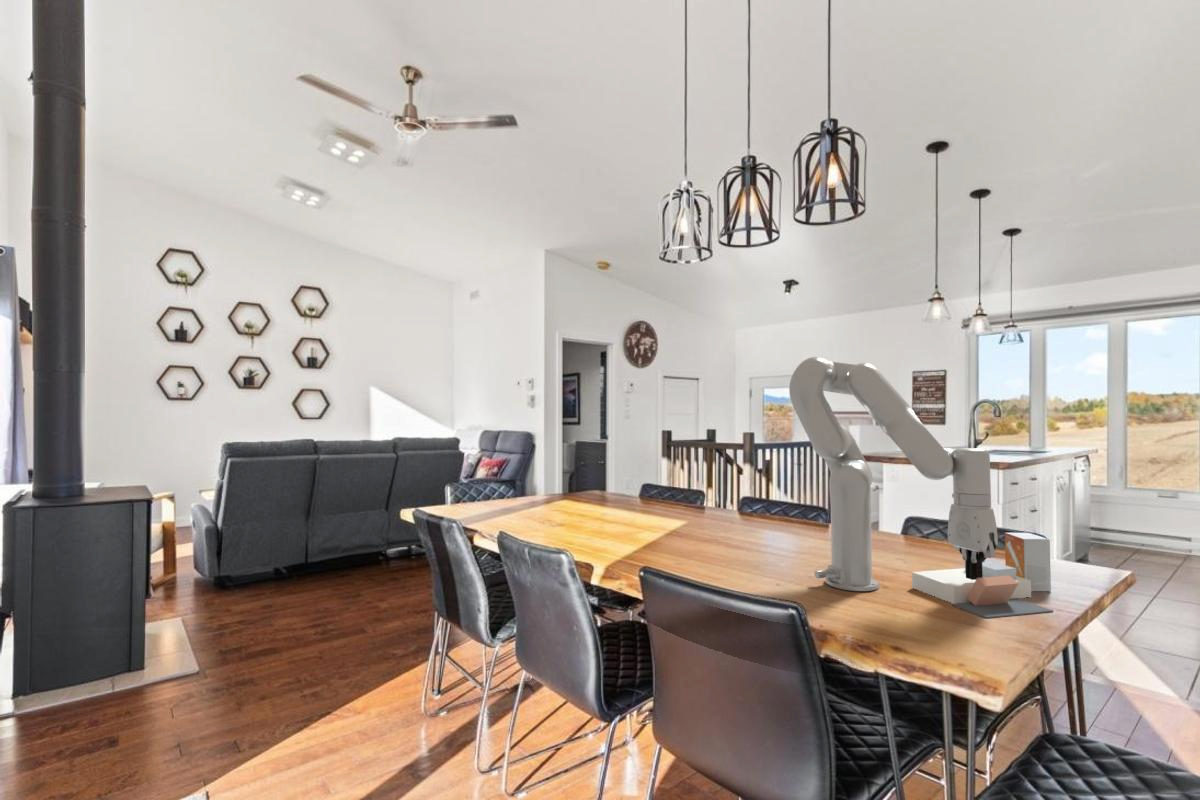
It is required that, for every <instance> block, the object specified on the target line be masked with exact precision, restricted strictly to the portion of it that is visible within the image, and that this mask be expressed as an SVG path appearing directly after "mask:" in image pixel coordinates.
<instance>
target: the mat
mask: <svg viewBox="0 0 1200 800" xmlns="http://www.w3.org/2000/svg"><path fill="white" fill-rule="evenodd" d="M951 605H952V606H953V605H954V606H953V607H955V606H956V607H955V608H958V607H959V608H958V609H960V608H961V610H964V611H966V612H968V613H971V614H974V615H976V616H979V617H981V618H983V619H992V618H993V619H995V618H1004V617H1016V616H1023V615H1024V616H1025V615H1035V614H1045V613H1046V612H1047V613H1054V610H1053V609H1050V608H1047V607H1044V606H1040V605H1038V604H1034V603H1031V602H1028V601H1026V600H1023V599H1021V598H1018V599H1017V598H1013V599H1009V601H1008V603H1001V604H990V605H979V606H975V605H974V604H973V603H972V602H968V603H957V604H952V603H951ZM1047 613H1046V614H1047Z"/></svg>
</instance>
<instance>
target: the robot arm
mask: <svg viewBox="0 0 1200 800" xmlns="http://www.w3.org/2000/svg"><path fill="white" fill-rule="evenodd" d="M788 389H789V392H788V393H789V398H790V401H791V405H792V406H793V408H794V411H795V413H796V415H797V418H798V419H799V421H800V424H801V426H802V427H803V430H804V433H806V436H807V439H808V440H809V442H810V443H811V446H812V448H813V451H814V452H815V453H816V454H817V455H818V457H821V458H822V459H824V462H825V463H826V465H827V467H828V469H829V471H830V476H829V483H828V484H829V485H828V486H829V487H828V488H829V489H828V490H829V499H830V500H829V501H830V503H829V504H830V525H831V526H830V530H831V534H830V537H831V538H830V539H831V544H830V545H831V548H830V549H831V564H830V565H827V568H826V569H824V570H821V569H819V570H815V571H814V577H815V578H816V579H824V578H825V584H827V585H828V586H831V588H832V587H833V588H836V589H840V590H845V591H850V592H870V591H871V592H872V591H875V590H877V589H879V588H880V584H879V582H878V581H877V580H876V579H874V578H873V571H872V570H873V566H872V565H873V563H872V562H873V561H872V559H873V558H872V557H873V556H872V551H873V550H872V512H871V511H872V510H871V509H872V508H871V506H872V505H871V485H872V483H873V473H872V470H871V468H870V466H869V464H868V462H867V460H866V459H865V457H864V455H863V453H862V451H861V449H860V448H859V446H858V444H857V442H856V441H855V438H854V436H853V435H852V433H851V432H850V431H849V429H848V428H847V427H845V426H843V425H841V424H840V422H839V421H838V419H837V417H836V415H835V413H834V412H833V409H832V407H831V406H830V404H829V402H828V400H827V398H826V396H825V394H824V393H825V392H828V393H835V394H836V393H837V394H840V395H841V394H843V395H848V396H854V398H856V400H857V401H858V402H859V403H860V405H862V407H863V408H864V409H865V410H866V412H867V413H868V414H869V415H870V416H871V418H872V419H873V420H874V422H876V424H878V426H879V428H881V430H882V431H883V433H885V434H886V436H888V437H889V438H890V439H891V440H892V441H893V442H894V444H895V445H896V446H897V447H898V448H899V449H900V450H901V452H902V453H903V454H904V455H905V457H906V458H907V459H908V461H910V463H911V464H912V465H913V466H914V468H915V469H916V470H917V471H918V472H919V473H920V474H921V476H923V477H924V478H927V479H928V480H933V481H940V480H943V479H945V478H947V477H949V476H950V477H952V482H953V483H952V485H953V487H952V490H953V492H952V494H951V498H952V499H953V503H951V505H950V508H949V513H948V521H947V522H948V523H947V540H948V543H949V544H950V545H951V546H952V548H953V549H955V550H956V551H958V552H959V553H960V554H961V556H962V560H963V561H964V566H965V565H966V578H968V579H971V580H976V579H977V578H983V574H982V562H985V560H987V559H993V558H996V550H997V549H998V544H999V543H998V542H999V541H998V539H999V538H998V527H997V522H996V516H995V511H994V508H992V490H991V488H992V487H991V458H990V457H991V455H990V453H989V452H990V451H988V450H986V449H985V448H978V447H977V448H976V447H974V448H973V447H960V448H950V447H943V446H942V445H941V443H939V441H938V440H937V439H936V438H935V437H934V435H932V433H931V432H930V431H929V430H928V428H926V426H925V425H924V424H923V422H921V420H920V418H919V417H918V416H917V414H916V412H915V410H914V409H913V408H912V406H911V405H909V403H908V402H907V401H906V400H905V399H904V398H903V396H902V395H901V393H899V392H898V391H897V390H896V389H895V387H894V386H893V385H892V384H891V383H890V382H889V380H888V379H887V378H886V377H885V376H884V375H883V374H882V373H881V371H880V370H879V369H878V368H877V367H875V366H874V365H873V364H871V363H868V362H863V363H857V364H853V363H847V362H846V363H845V362H839V361H831V360H827V359H825V358H823V357H820V356H812V357H808V358H806V359H804V360H802V361H801V363H799V365H797V366H796V368H795V370H794V371H793V373H792V375H791V378H790V382H789V388H788Z"/></svg>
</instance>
